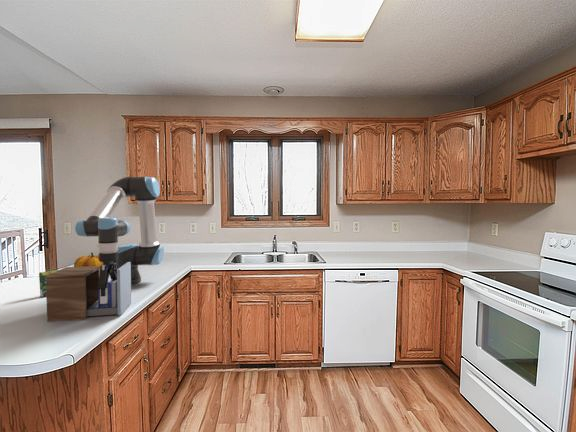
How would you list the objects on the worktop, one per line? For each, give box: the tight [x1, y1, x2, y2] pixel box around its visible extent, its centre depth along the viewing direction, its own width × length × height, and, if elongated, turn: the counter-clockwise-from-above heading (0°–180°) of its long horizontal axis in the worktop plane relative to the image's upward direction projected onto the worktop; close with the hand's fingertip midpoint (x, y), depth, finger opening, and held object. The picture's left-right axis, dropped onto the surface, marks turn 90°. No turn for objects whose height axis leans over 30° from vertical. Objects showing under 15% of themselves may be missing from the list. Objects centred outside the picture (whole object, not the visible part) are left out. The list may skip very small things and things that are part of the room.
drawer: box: [87, 262, 132, 317], centre depth 137 cm, size 17×14×20 cm
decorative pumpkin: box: [73, 252, 103, 267], centre depth 203 cm, size 20×22×15 cm
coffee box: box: [38, 269, 60, 298], centre depth 158 cm, size 8×3×13 cm, turn 150°
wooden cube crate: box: [45, 266, 100, 323], centre depth 133 cm, size 17×14×19 cm
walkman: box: [98, 280, 118, 309], centre depth 136 cm, size 8×3×12 cm, turn 94°
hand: (109, 298), depth 137 cm, fingers open, 13 cm apart
